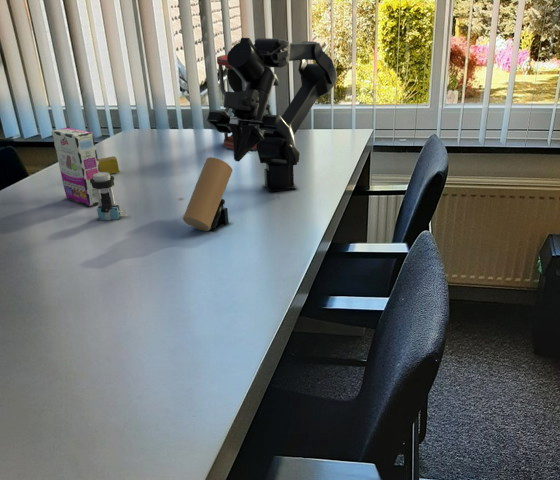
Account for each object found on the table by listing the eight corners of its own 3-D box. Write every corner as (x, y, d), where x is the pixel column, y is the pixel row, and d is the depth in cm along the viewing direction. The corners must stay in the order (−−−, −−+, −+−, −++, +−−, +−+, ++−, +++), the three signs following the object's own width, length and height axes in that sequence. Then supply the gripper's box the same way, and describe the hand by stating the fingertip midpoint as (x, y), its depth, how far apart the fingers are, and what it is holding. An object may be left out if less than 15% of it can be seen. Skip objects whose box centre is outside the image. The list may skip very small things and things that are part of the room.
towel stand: (208, 220, 139) (205, 195, 136) (228, 223, 136) (226, 198, 133) (194, 227, 135) (191, 202, 132) (215, 231, 133) (212, 206, 130)
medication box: (76, 180, 169) (73, 166, 167) (74, 177, 171) (71, 162, 168) (119, 172, 173) (117, 158, 171) (117, 169, 175) (114, 155, 172)
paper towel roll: (218, 214, 142) (212, 151, 134) (239, 218, 139) (235, 154, 132) (179, 234, 132) (171, 167, 124) (202, 239, 129) (195, 170, 122)
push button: (129, 213, 145) (121, 170, 139) (124, 221, 140) (116, 177, 135) (100, 214, 145) (92, 171, 139) (95, 222, 140) (86, 178, 135)
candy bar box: (107, 201, 153) (94, 132, 143) (90, 207, 150) (75, 136, 140) (82, 193, 159) (68, 126, 150) (65, 198, 156) (49, 130, 147)
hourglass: (274, 149, 188) (270, 58, 174) (221, 151, 189) (213, 60, 175) (275, 137, 202) (272, 51, 188) (226, 139, 202) (219, 53, 188)
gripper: (204, 71, 135) (183, 139, 134) (277, 75, 126) (255, 147, 126) (229, 99, 145) (209, 162, 144) (299, 104, 136) (278, 171, 136)
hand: (236, 160), depth 138 cm, fingers closed
